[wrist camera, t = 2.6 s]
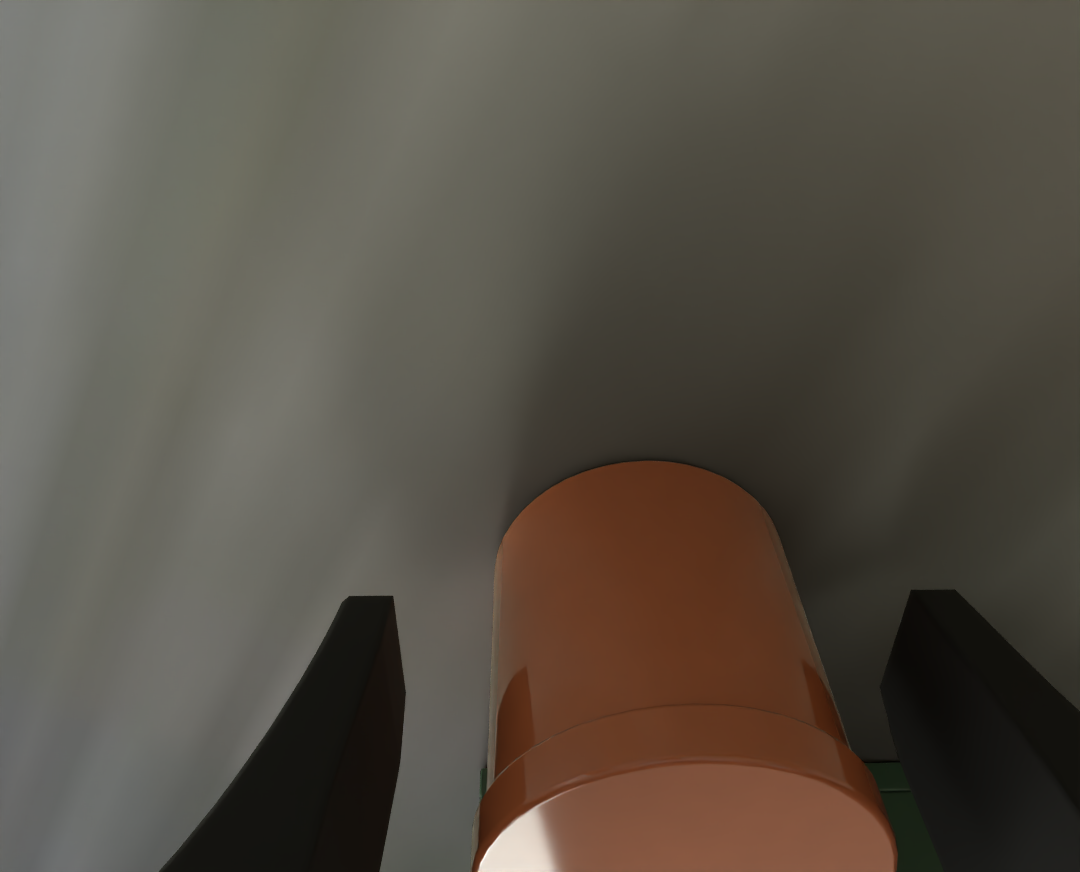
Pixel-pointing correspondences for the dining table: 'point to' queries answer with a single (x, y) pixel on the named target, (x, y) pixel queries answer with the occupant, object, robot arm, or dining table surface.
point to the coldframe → (915, 847)
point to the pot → (663, 692)
